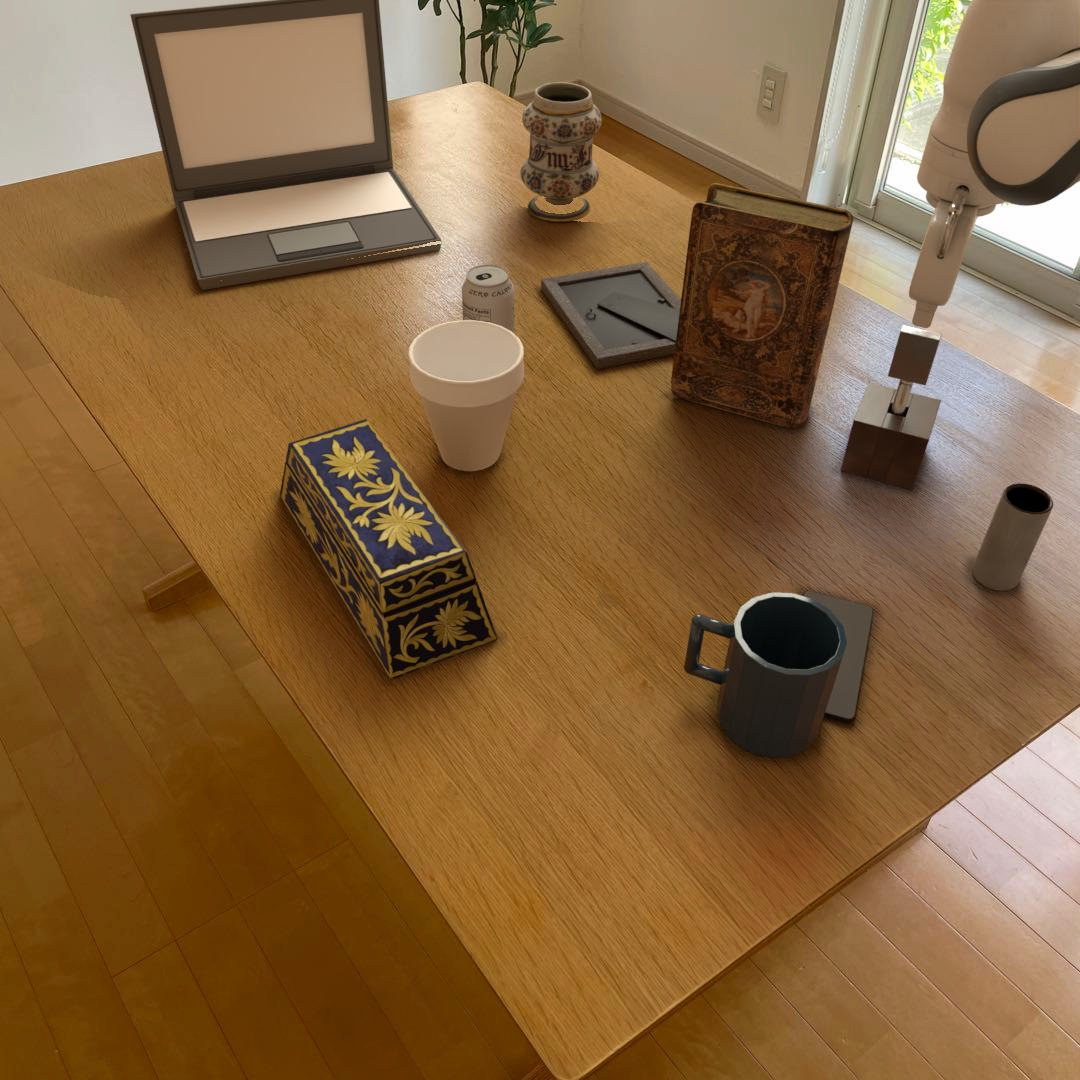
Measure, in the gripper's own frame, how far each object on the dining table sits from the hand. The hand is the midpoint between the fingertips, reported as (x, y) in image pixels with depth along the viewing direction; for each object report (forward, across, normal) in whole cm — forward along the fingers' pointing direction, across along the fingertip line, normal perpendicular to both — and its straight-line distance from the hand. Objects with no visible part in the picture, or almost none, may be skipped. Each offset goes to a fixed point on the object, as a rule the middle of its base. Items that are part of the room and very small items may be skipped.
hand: (929, 301), depth 106 cm
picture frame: (+21, +16, +38) cm, 46 cm away
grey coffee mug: (+20, -41, +4) cm, 46 cm away
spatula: (+20, 0, 0) cm, 20 cm away
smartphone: (+21, -32, -1) cm, 38 cm away
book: (+21, +4, +18) cm, 28 cm away
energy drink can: (+21, -6, +47) cm, 52 cm away
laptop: (+21, +19, +91) cm, 95 cm away
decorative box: (+21, -39, +43) cm, 61 cm away
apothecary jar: (+21, +42, +59) cm, 75 cm away
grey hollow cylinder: (+20, -14, -14) cm, 29 cm away
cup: (+21, -19, +43) cm, 51 cm away
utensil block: (+20, 0, 0) cm, 20 cm away
